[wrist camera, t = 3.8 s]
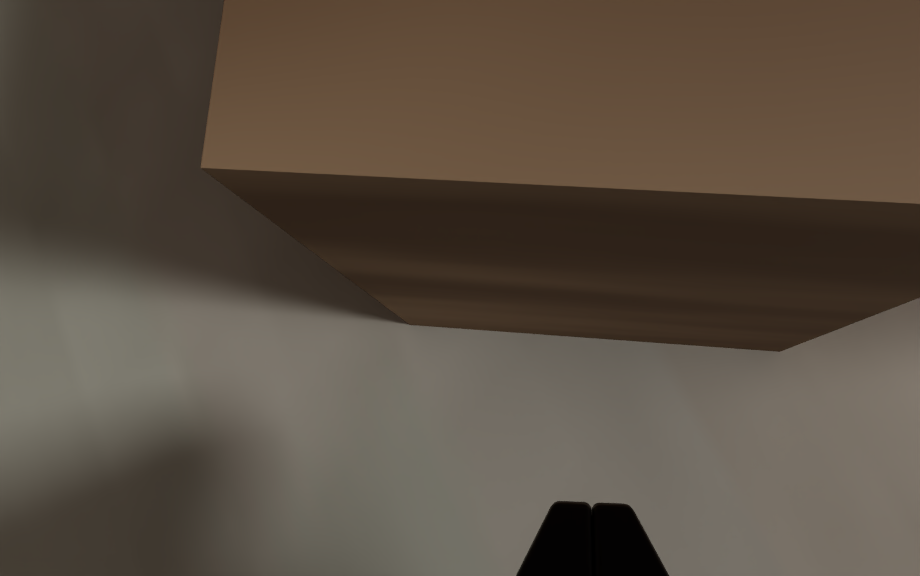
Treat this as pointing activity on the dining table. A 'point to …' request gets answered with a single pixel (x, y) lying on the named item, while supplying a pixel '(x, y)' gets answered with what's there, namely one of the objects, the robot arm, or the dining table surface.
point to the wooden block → (586, 159)
